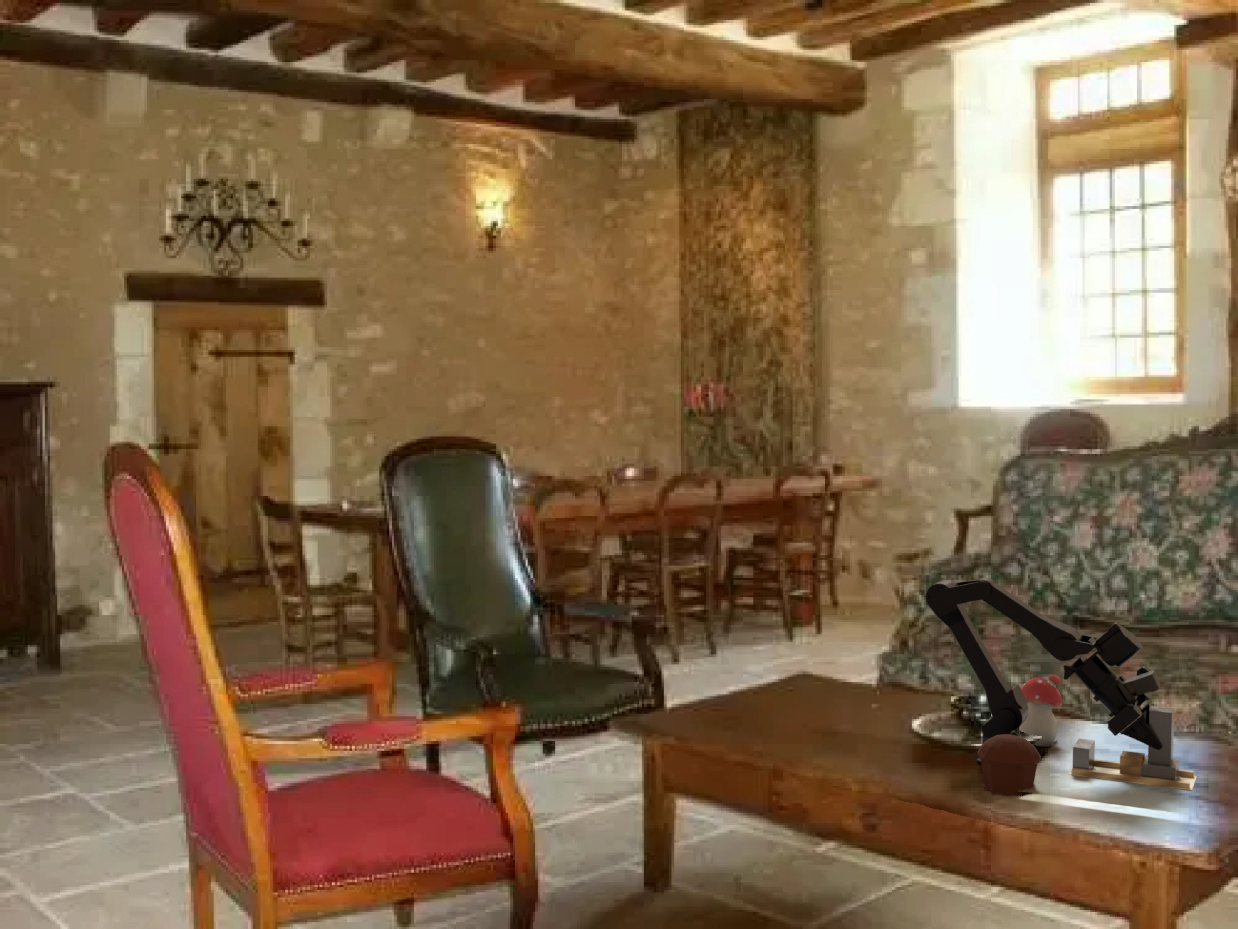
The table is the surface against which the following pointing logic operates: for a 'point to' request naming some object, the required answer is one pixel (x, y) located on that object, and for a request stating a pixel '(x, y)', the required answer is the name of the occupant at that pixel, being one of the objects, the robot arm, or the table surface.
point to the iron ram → (1162, 760)
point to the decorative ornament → (1041, 708)
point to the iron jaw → (1084, 754)
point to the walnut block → (1131, 763)
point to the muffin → (1008, 764)
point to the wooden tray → (1112, 772)
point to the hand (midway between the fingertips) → (1162, 745)
